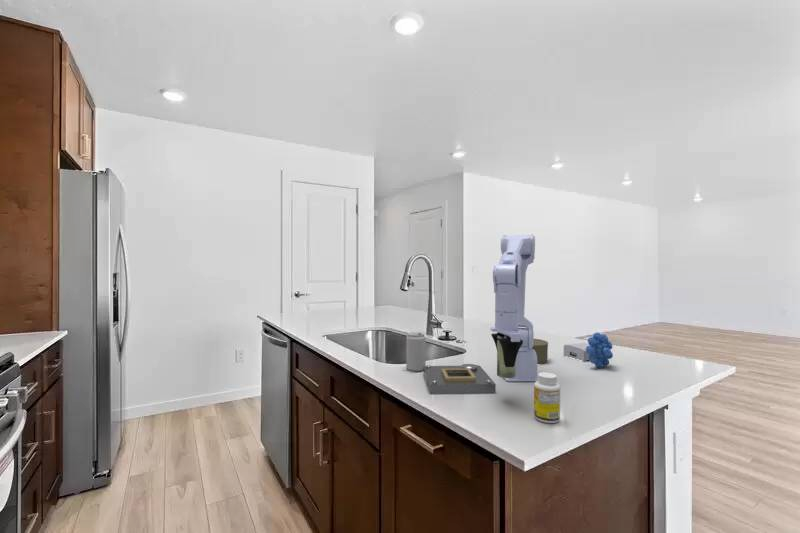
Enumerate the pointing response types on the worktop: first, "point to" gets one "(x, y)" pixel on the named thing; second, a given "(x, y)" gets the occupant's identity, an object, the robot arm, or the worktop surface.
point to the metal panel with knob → (458, 379)
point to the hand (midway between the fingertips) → (506, 363)
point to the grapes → (599, 350)
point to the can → (540, 350)
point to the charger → (577, 351)
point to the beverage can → (415, 351)
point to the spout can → (501, 369)
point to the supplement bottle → (547, 398)
